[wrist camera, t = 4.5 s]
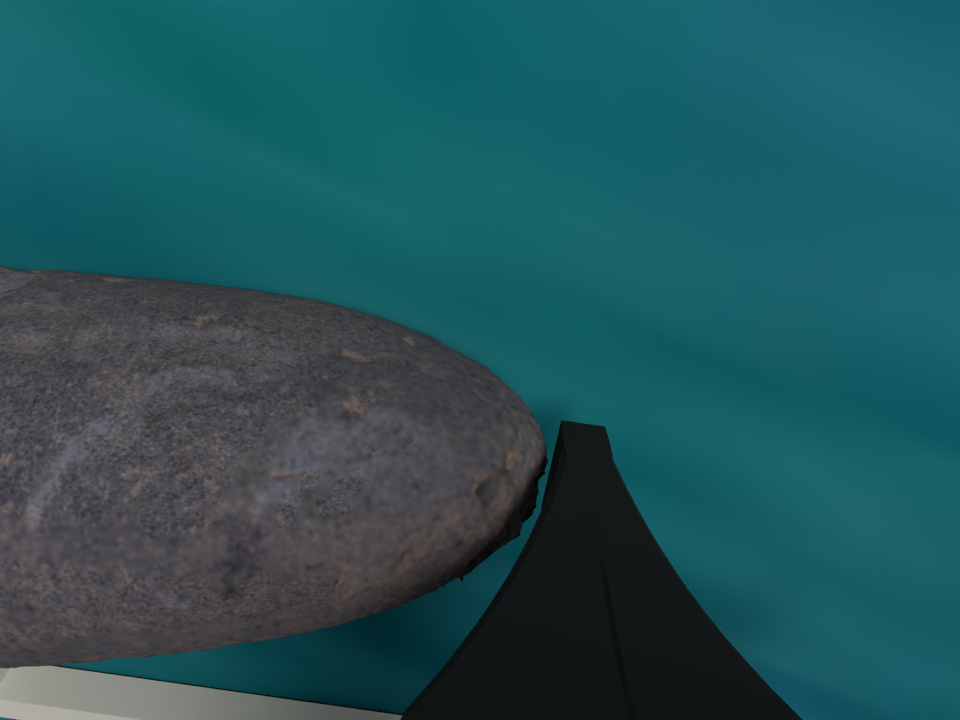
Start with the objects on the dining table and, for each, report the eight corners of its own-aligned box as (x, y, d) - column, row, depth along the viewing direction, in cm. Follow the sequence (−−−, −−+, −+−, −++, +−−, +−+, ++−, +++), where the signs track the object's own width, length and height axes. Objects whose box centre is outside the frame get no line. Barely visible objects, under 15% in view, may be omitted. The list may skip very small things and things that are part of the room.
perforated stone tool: (559, 249, 13) (569, 552, 7) (536, 468, 16) (529, 807, 10) (-237, 196, 13) (-820, 432, 8) (-117, 414, 16) (-474, 704, 11)
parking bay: (558, -876, 7) (560, -1098, 5) (404, 733, 22) (393, 794, 21) (-836, -1055, 7) (-1241, -1327, 5) (-8, 675, 22) (-48, 731, 21)
